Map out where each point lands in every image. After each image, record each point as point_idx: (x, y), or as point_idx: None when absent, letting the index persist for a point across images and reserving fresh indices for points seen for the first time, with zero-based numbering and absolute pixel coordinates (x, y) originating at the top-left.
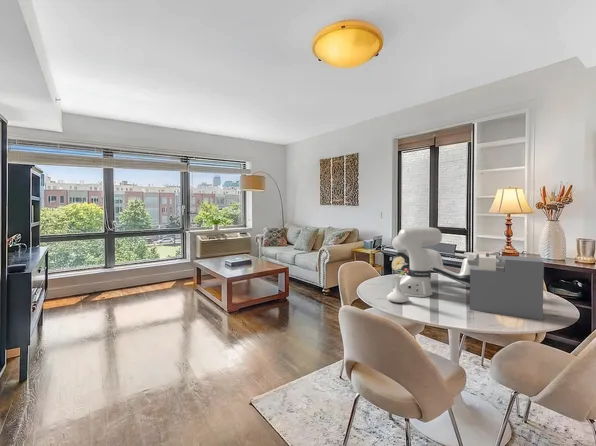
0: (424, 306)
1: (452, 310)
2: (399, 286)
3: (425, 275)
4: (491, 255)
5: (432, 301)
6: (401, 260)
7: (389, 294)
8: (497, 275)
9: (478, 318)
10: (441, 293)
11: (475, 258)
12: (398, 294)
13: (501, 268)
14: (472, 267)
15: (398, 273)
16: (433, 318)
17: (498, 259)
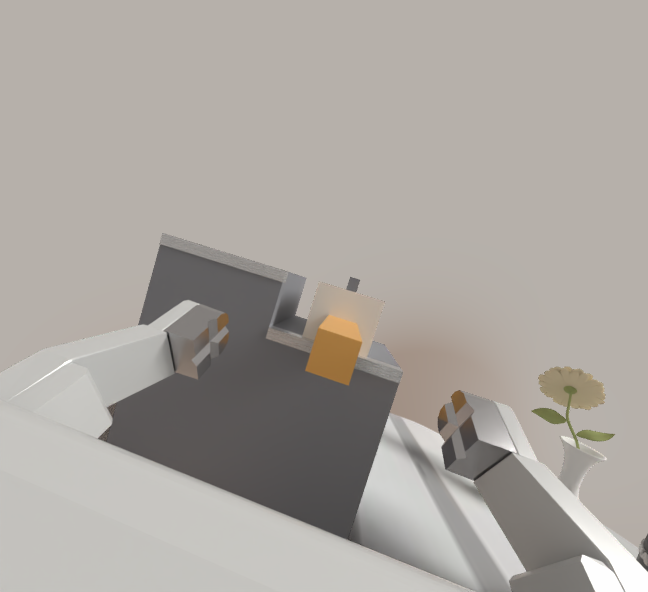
0: (456, 485)
1: (383, 460)
2: (560, 475)
3: (638, 556)
4: (335, 286)
5: (476, 547)
6: (562, 375)
7: None
8: None
9: None
10: None
11: (518, 540)
12: None
13: (284, 326)
14: (385, 352)
15: (578, 433)
16: (399, 422)
17: (159, 375)
